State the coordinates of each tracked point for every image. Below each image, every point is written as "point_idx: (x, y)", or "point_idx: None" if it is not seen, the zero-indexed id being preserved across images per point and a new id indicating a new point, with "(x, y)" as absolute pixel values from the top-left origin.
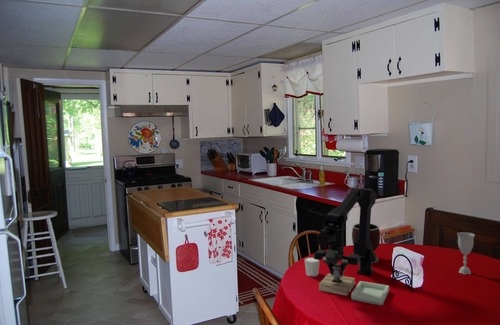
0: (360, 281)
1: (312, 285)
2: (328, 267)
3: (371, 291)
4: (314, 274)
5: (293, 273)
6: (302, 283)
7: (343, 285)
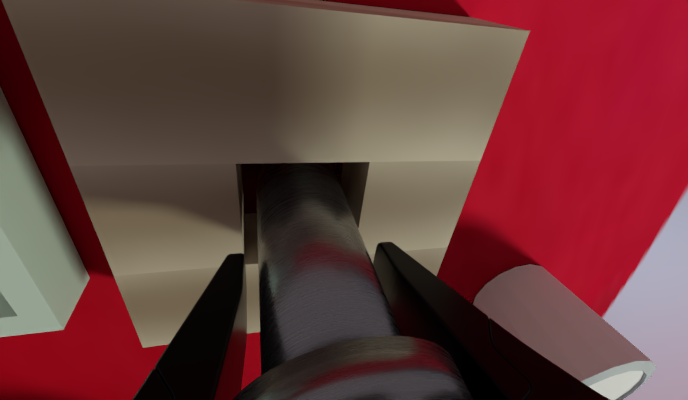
0: (46, 323)
1: (529, 122)
2: (517, 338)
3: None
4: (506, 285)
5: (626, 252)
6: (609, 127)
7: (151, 105)
